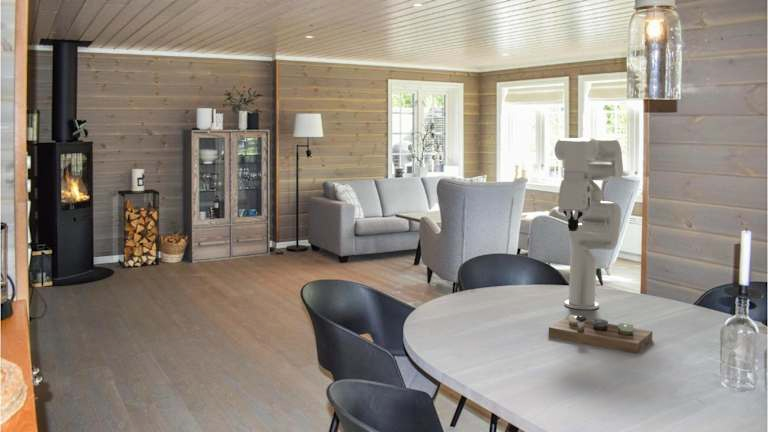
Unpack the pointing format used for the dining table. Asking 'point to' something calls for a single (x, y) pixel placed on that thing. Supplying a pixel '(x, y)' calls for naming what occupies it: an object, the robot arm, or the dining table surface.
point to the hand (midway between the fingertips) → (572, 230)
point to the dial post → (581, 322)
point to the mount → (602, 336)
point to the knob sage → (625, 329)
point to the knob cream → (573, 320)
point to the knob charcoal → (600, 324)
